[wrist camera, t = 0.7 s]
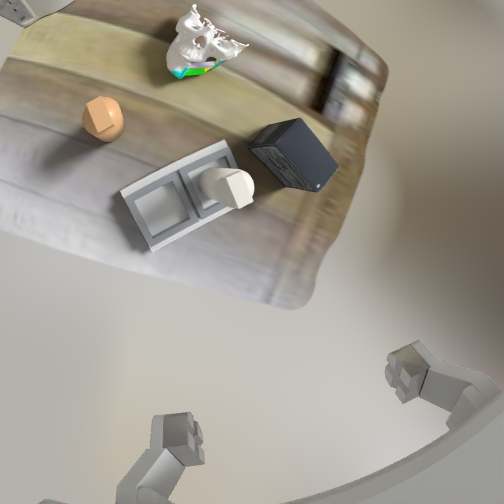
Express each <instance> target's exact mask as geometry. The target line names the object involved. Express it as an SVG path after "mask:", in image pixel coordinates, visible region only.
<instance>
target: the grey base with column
mask: <svg viewBox="0 0 504 504" xmlns="http://www.w3.org/2000/svg"><path fill="white" fill-rule="evenodd" d="M120 192H121V194H122V196H123V198H124V200H125V202H126V204H127V206H128V208H129V210H130V212H131V214H132V216H133V218H134V220H135V221H136V223H137V225H138V227H139V229H140V231H141V233H142V234H143V236H144V238H145V240H146V242H147V244H148V245H149V247H150V249H151V251H152V252H154V251H156V250H158V249H159V248H161V247H163V246H165V245H167V244H168V243H170V242H172V241H174V240H176V239H177V238H179V237H181V236H183V235H185V234H187V233H189V232H190V231H192V230H194V229H196V228H198V227H200V226H202V225H204V224H205V223H207V222H209V221H211V220H213V219H215V218H217V217H219V216H221V215H223V214H225V213H227V212H228V211H230V210H232V209H234V208H239V209H240V208H242V207H244V206H246V205H247V204H249V203H251V202H253V199H252V196H253V193H254V183H253V180H252V178H251V176H250V175H249V174H248V173H247V172H245V171H243V170H239V169H238V167H237V164H236V162H235V159H234V157H233V154H232V152H231V150H230V147H228V146H227V143H226V141H225V140H221V141H219V142H217V143H214V144H212V145H210V146H207V147H205V148H203V149H201V150H198V151H196V152H194V153H192V154H190V155H188V156H185V157H183V158H181V159H179V160H177V161H175V162H173V163H171V164H169V165H167V166H165V167H163V168H161V169H159V170H157V171H155V172H153V173H151V174H149V175H147V176H145V177H143V178H142V179H140V180H138V181H136V182H134V183H132V184H131V185H129V186H127V187H125V188H123V189H122V190H120Z"/></svg>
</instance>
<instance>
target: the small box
mask: <svg viewBox="0 0 504 504" xmlns="http://www.w3.org/2000/svg"><path fill="white" fill-rule="evenodd" d="M248 149H250V150H251V152H252V153H253V154H254V155H255V156H256V157H257V158H258V159H259V160H260V161H261V162H262V163H263V164H264V165H265V166H266V167H267V168H268V169H269V170H270V172H271V173H272V174H273V175H274V176H275V177H276V178H277V179H278V180H279V181H280V182H281V183H282V184H283V185H284V186H285V187H289V188H296V189H301V190H307V191H312V192H317V193H319V192H320V190H321V189H322V188H323V187H324V185H325V184H326V183H327V182H328V180H329V179H330V178H331V176H332V175H333V174H334V173H335V172H336V170H337V169H338V168H339V165H338V164H337V163H336V161H335V160H334V159H333V157H332V156H331V155H330V153H329V152H328V151H327V150H326V148H325V147H324V146H323V144H322V143H321V142H320V141H319V139H318V138H317V137H316V136H315V134H314V133H313V132H312V131H311V130H310V128H309V127H308V126H307V125H306V123H305V122H304V121H303V120H302V119H301V118H297V119H292V120H288V121H283V122H279V123H275V124H270V125H268V126H267V127H266V128H265V129H264V130H263V131H262V132H261V133H260V134H259V135H258V136H257V137H256V139H255V140H254V141H253V142H252V143H251V144H250V145H249V146H248Z"/></svg>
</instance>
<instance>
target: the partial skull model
mask: <svg viewBox="0 0 504 504" xmlns="http://www.w3.org/2000/svg"><path fill="white" fill-rule="evenodd" d="M196 6H197V5H195V4H194V5H193V6H192V7H191V10H190V12H189V13H187V14H186V15H185V16H184V17H181V18H180V19H179V21H178V23H177V25H176V31H177V32H179V33H178V35H177V37H176V38H175V40H174V41H173V42H172V44H171V45H170V47H169V50H168V52H167V56H166V61H167V68H168V69H169V70H170V71H171V73H172V74H173V75H175V76H176V77H177V78H178V79H181V78H182V77H183V76H189V75H199V74H204V73H205V72H206V71H208V70H209V69H214V68H216V67H218V66H219V65H220V64H221V63H222V62H223V61H224V60H229V59H231V58H234V57H236V56H237V54H238V53H240V52H241V50H242V49H243V48H244V47H246V46H248V45H249V44H247V45H244V44H240V43H238V42H236V41H234V40H230V41H227V40H226V41H225V40H223V39H225V37H219V35H220V33H221V32H224V31H222V30H219V29H216V28H215V27H214V25H211V22H210V21H209V20H208V19H207V18H205V19H206V21H207V23H208V22H209V23H210V24H208V25H207V26H206V27H205V26H204V23H205V21H204V23H203V24H202V23H201V22H200V20H199V17H200V15H199V14H198V13H197V11H196V10H195V8H196ZM205 19H204V20H205ZM210 26H211V27H210ZM213 28H215V29H216V30H219V31H220V33H219V34H218V37H217V38H213V37H214V34H217V33H218V32H217V31H216V30H214V29H213ZM224 33H225V32H224ZM198 36H204V37H205V39H206V40H207V41H206V43H207V44H206V45H205V47H204V48H202V47H200V44H198V43H197V44H195V42H194V41H195V39H196V38H197V37H198ZM226 37H227V36H226ZM205 39H204V40H205ZM218 45H220V46H221V47H219V46H218ZM213 49H214V50H213ZM212 50H213V51H212ZM209 57H214V58H216V59H217V60H216V61H211V62H205V61H206V59H207V58H209ZM191 62H195V63H191Z"/></svg>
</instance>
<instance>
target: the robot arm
mask: <svg viewBox="0 0 504 504" xmlns="http://www.w3.org/2000/svg"><path fill="white" fill-rule="evenodd" d="M72 1H74V0H0V15H1V16H2V17H5V18H6V19H8V20H10V21H12V22H14V23H16V24H18V25H20V26H22V27H27V26H29V25H30V24H32V23H33V22H35V21H36V20H38V19H39V18H41V17H43V16H46V15H49V14H51V13H54V12H56V11H58V10H60V9H62V8H64V7H65V6H67V5H68V4H70V3H71V2H72ZM387 361H388V362H389V363H388V365H387V366H386V368H385V376H386V379H387V381H388V383H389V385H390V386H391V387H393V388H396V395H397V396H398V398H399V399H400V401H401V402H402V403H403V404H404V403H406V402H408V401H410V400H412V399H414V398H416V397H418V396H419V397H420V398H422V399H424V400H426V401H429V402H431V403H432V404H435V405H437V406H439V407H441V408H443V409H445V410H447V411H449V412H451V414H450V416H449V418H448V419H447V421H446V425H447V426H448V427H449V429H450V431H448V432H447V433H445V434H444V435H442V436H441V437H439V438H438V439H436V440H434V441H433V442H431V443H429V444H428V445H426V446H425V447H423V448H421V449H419V450H418V451H416V452H414V453H412V454H410V455H409V456H407V457H405V458H403V459H401V460H399V461H397V462H395V463H393V464H391V465H389V466H387V467H385V468H383V469H381V470H379V471H376V472H374V473H372V474H370V475H367V476H365V477H363V478H360V479H358V480H355V481H353V482H350V483H347V484H345V485H342V486H339V487H337V488H334V489H331V490H328V491H325V492H322V493H318V494H315V495H312V496H308V497H305V498H301V499H298V500H294V501H290V502H285V503H281V504H504V388H503V389H502V390H500V389H499V388H498V387H497V386H496V384H494V382H493V381H492V380H491V379H490V378H489V377H488V376H487V375H486V374H485V373H482V372H479V371H475V370H472V369H468V368H465V367H462V366H458V365H455V364H451V363H448V362H445V361H442V362H440V361H439V360H438V359H437V358H436V357H435V356H434V355H433V354H432V353H431V352H430V351H429V349H428V348H426V346H425V345H424V344H423V343H422V342H421V341H419V340H417V341H415V342H413V343H411V344H409V345H406V346H404V347H402V348H400V349H398V350H396V351H394V352H391V353H389V354H388V356H387ZM202 443H203V436H202V431H201V428H200V426H199V424H198V423H197V422H196V421H194V420H193V415H192V414H191V412H185V413H176V414H167V415H156V416H154V417H153V419H152V427H151V439H150V449H146V450H145V452H144V453H143V454H142V455H141V457H140V458H139V459H138V461H137V462H136V463H135V464H134V466H133V467H132V468H131V469H130V471H129V472H128V473H127V475H126V476H125V477H124V478H123V479H122V481H121V482H120V483H119V484H118V485H117V492H116V503H115V504H174V503H172V502H171V501H169V500H168V498H169V496H170V494H171V493H172V491H173V489H174V487H175V485H176V484H177V482H178V480H179V478H180V476H181V475H182V473H183V471H184V469H185V467H187V466H196V465H203V464H205V461H204V451H203V449H202V448H201V447H200V446H201V444H202ZM38 504H66V503H62V502H58V501H55V500H50V499H45V500H43V501H41V502H40V503H38Z"/></svg>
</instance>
